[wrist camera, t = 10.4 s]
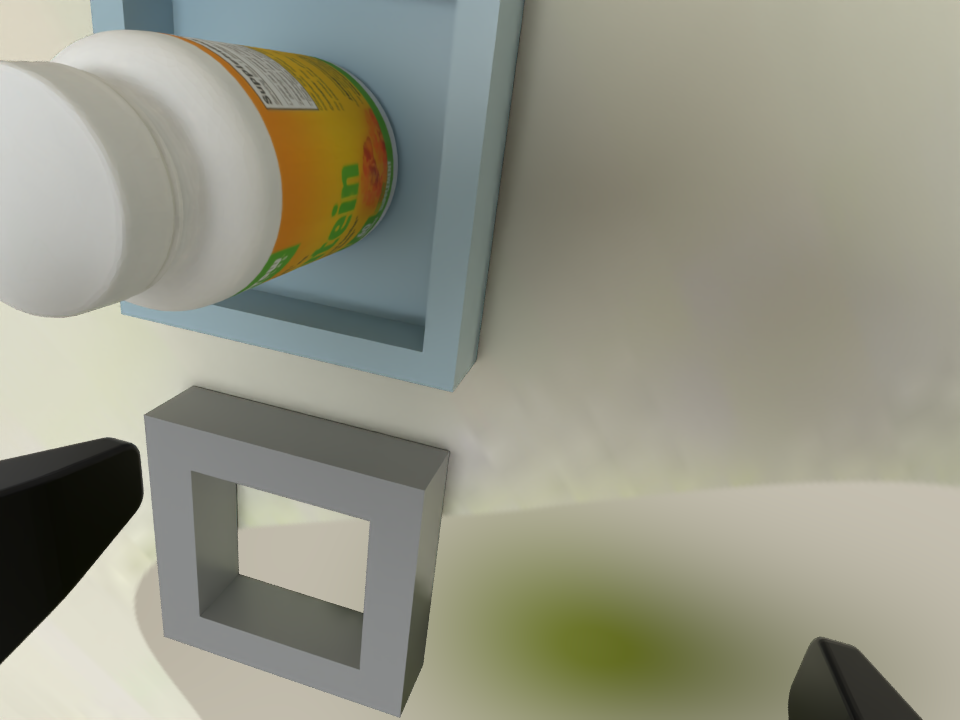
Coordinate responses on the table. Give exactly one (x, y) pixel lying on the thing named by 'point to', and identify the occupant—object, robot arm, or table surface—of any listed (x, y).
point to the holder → (313, 480)
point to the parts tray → (419, 189)
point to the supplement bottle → (180, 171)
